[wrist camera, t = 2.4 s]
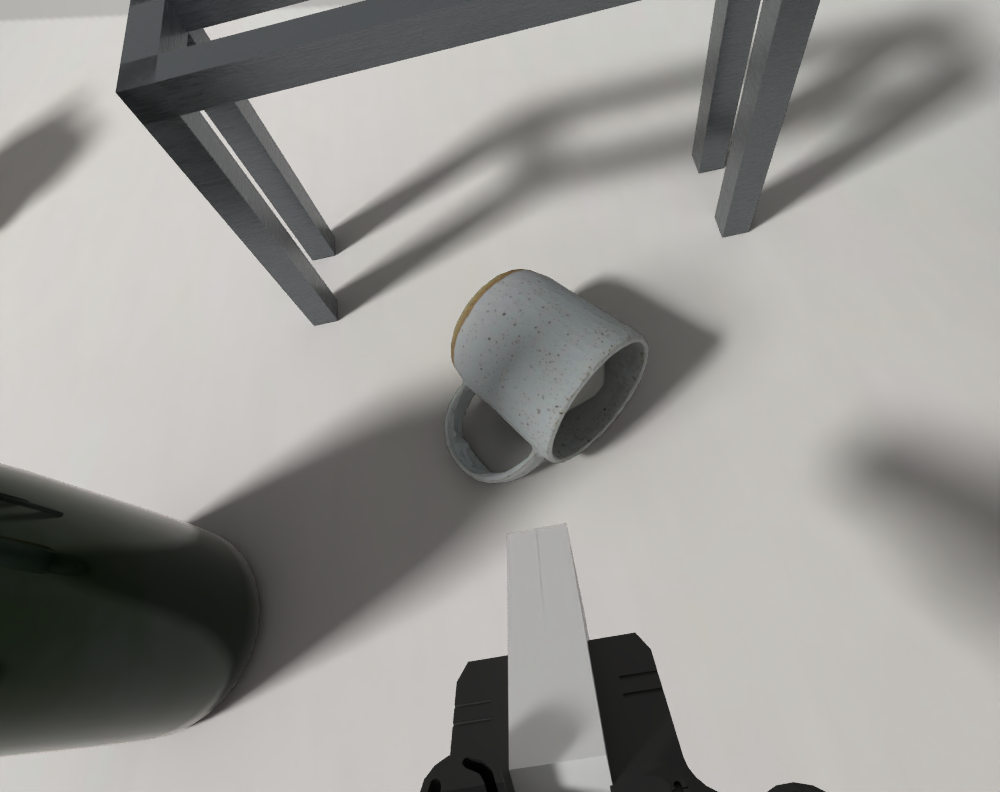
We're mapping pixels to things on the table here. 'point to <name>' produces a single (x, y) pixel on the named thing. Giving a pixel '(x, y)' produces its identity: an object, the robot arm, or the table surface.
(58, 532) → the green wine bottle
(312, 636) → the table surface
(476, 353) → the ceramic mug
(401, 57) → the frame
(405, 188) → the table surface
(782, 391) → the table surface
